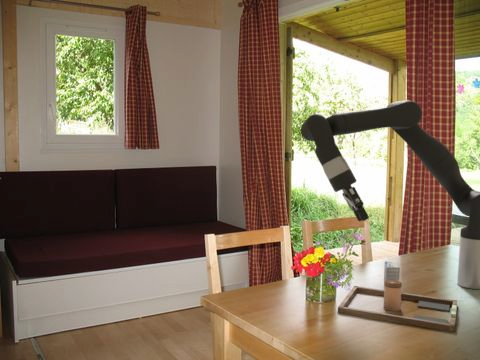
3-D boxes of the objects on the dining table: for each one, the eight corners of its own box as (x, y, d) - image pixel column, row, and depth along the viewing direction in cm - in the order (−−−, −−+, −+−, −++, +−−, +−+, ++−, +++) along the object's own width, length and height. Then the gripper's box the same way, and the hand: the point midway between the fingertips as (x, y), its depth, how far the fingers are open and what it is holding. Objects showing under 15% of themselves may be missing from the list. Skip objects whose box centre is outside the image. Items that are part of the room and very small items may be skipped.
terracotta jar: (384, 304, 160) (386, 279, 159) (401, 306, 158) (402, 281, 157) (382, 309, 155) (383, 283, 154) (399, 311, 153) (400, 285, 152)
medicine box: (399, 293, 171) (400, 267, 170) (385, 292, 172) (386, 266, 171) (396, 285, 178) (397, 261, 177) (383, 285, 179) (384, 260, 178)
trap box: (354, 290, 173) (354, 283, 172) (456, 305, 159) (457, 298, 159) (337, 312, 152) (338, 304, 152) (454, 331, 139) (454, 323, 139)
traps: (419, 301, 163) (419, 299, 163) (449, 305, 159) (449, 304, 159) (412, 323, 145) (412, 321, 145) (446, 328, 141) (446, 326, 141)
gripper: (352, 165, 152) (378, 213, 150) (347, 170, 166) (371, 215, 164) (329, 176, 153) (356, 225, 151) (326, 181, 167) (350, 225, 165)
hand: (363, 220), depth 157 cm, fingers open, 8 cm apart
